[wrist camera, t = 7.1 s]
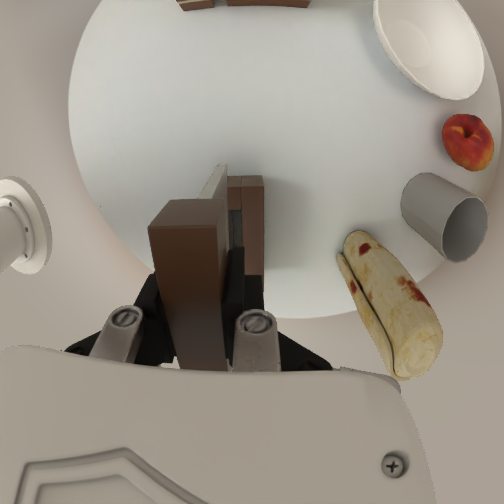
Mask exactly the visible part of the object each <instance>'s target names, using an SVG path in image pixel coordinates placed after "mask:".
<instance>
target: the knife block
mask: <svg viewBox="0 0 504 504" xmlns="http://www.w3.org/2000/svg"><path fill="white" fill-rule="evenodd" d="M210 178H211V177H210ZM227 197H228V229H229V250H232V248H233V247H234V246H233V228H232V210H241V209H242V237H243V247H245V275H262V284H263V292H264V184H263V179H262V176H261V175H259V176H227Z"/></svg>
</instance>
